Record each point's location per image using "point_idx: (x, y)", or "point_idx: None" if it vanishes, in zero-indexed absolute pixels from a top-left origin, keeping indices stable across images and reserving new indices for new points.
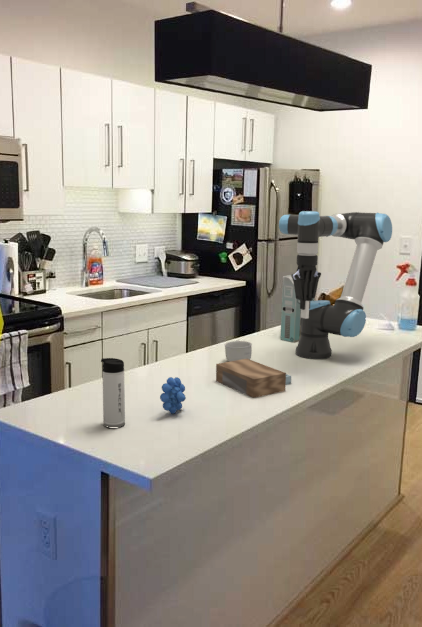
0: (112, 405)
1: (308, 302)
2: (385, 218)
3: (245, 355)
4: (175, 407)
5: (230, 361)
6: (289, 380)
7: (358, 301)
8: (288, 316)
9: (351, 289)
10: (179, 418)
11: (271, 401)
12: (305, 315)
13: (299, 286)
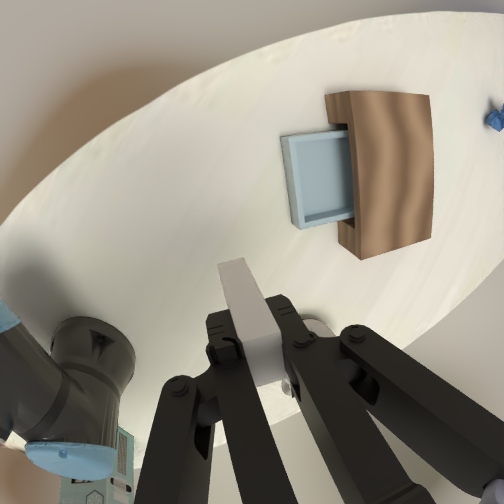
0: None
1: (248, 330)
2: None
3: (308, 327)
4: (498, 112)
5: (402, 246)
6: (289, 136)
7: None
8: (120, 472)
9: None
10: (490, 96)
11: (381, 60)
12: (248, 269)
13: (462, 407)
